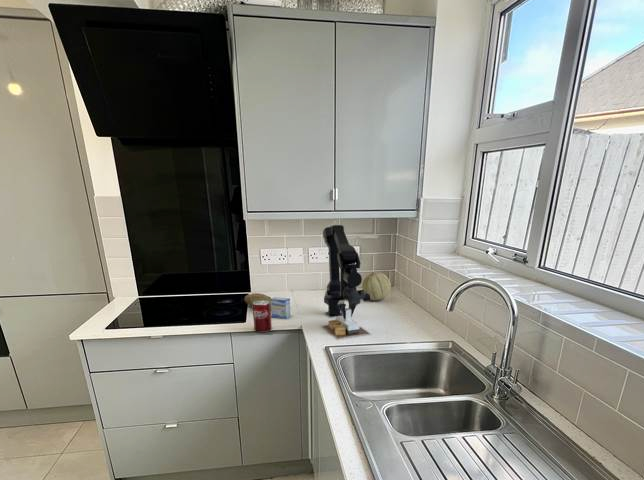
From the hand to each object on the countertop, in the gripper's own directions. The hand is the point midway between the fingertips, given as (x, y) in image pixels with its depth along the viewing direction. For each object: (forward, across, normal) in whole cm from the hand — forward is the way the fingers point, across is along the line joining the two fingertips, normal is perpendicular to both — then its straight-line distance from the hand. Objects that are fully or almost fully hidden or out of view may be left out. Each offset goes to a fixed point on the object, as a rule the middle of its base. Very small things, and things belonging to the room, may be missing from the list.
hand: (347, 318), depth 169 cm
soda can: (+5, -33, +14) cm, 36 cm away
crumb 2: (+5, -5, -3) cm, 8 cm away
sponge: (+5, -26, +47) cm, 54 cm away
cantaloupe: (+6, +34, +37) cm, 50 cm away
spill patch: (+5, -1, 0) cm, 5 cm away
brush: (+4, 0, 0) cm, 4 cm away
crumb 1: (+5, -4, +4) cm, 8 cm away
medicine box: (+5, -21, +29) cm, 36 cm away
